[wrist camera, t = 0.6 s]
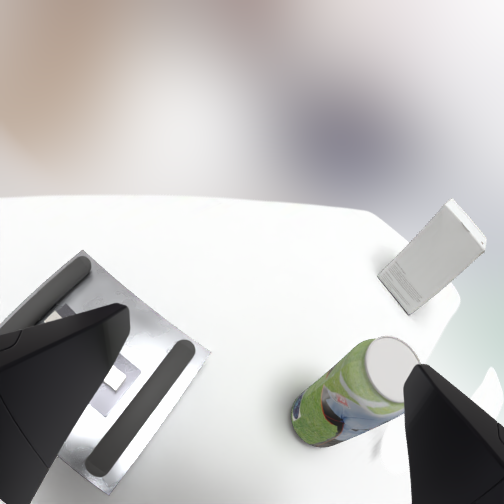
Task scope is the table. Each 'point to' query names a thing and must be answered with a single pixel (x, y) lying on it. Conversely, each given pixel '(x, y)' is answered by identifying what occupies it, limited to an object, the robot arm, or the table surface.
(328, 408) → the beverage can
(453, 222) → the skincare box
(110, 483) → the breaker panel
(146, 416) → the dark grey rounded rod
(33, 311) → the dark grey rounded bar
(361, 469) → the table surface
